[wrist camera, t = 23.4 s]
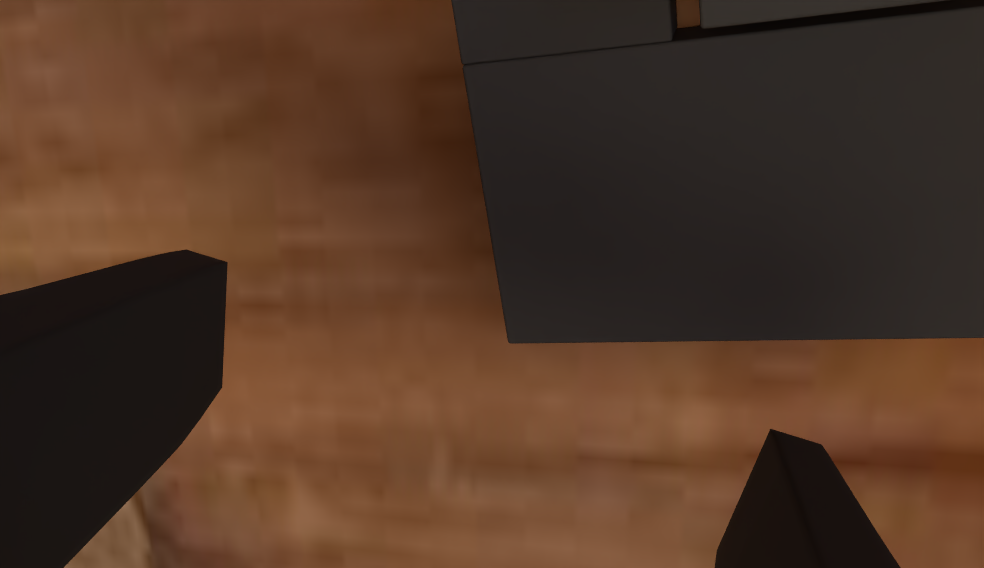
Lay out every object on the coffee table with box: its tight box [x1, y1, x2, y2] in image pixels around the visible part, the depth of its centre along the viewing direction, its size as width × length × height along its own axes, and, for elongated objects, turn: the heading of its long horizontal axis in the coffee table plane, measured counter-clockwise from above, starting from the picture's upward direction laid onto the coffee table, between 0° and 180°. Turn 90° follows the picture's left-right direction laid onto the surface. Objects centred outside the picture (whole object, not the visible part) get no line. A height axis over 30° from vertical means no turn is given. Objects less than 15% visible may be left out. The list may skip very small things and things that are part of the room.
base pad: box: [451, 0, 984, 343], centre depth 16 cm, size 12×12×2 cm
